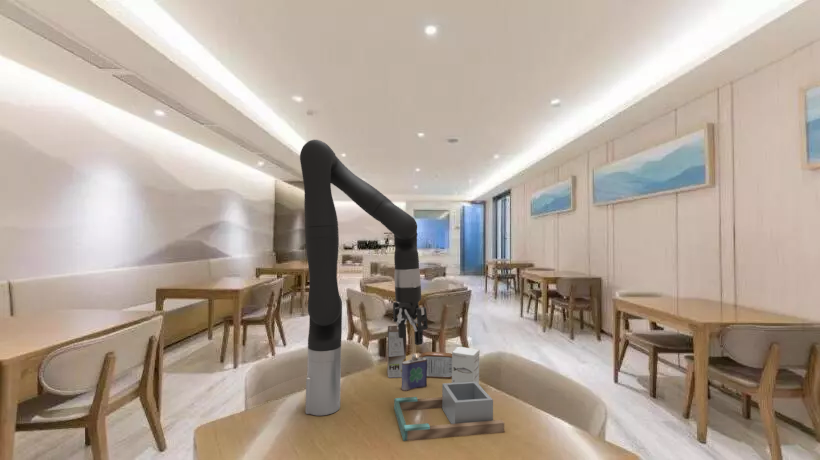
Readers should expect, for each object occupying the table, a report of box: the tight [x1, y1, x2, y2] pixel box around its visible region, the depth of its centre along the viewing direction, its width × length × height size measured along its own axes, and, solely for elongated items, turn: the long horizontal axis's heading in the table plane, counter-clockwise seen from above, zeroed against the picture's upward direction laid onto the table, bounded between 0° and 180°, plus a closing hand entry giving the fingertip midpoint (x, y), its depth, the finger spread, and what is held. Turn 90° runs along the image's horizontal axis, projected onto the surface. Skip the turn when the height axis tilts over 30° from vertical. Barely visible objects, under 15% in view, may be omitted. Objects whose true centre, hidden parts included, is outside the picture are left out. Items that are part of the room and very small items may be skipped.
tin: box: [417, 351, 452, 379], centre depth 124 cm, size 15×3×8 cm, turn 84°
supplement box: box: [451, 346, 480, 385], centre depth 114 cm, size 7×7×13 cm
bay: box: [393, 396, 505, 442], centre depth 94 cm, size 25×17×3 cm, turn 100°
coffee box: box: [386, 325, 407, 379], centre depth 128 cm, size 9×6×16 cm
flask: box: [401, 353, 428, 392], centre depth 115 cm, size 9×3×11 cm, turn 121°
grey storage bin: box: [441, 382, 494, 424], centre depth 95 cm, size 10×12×7 cm
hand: (410, 340), depth 101 cm, fingers open, 8 cm apart
